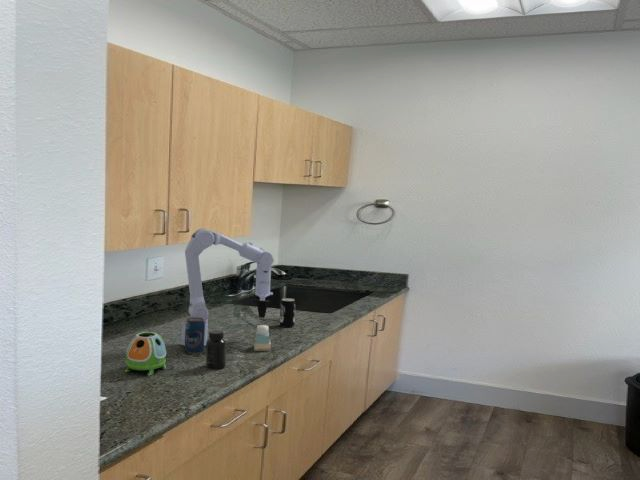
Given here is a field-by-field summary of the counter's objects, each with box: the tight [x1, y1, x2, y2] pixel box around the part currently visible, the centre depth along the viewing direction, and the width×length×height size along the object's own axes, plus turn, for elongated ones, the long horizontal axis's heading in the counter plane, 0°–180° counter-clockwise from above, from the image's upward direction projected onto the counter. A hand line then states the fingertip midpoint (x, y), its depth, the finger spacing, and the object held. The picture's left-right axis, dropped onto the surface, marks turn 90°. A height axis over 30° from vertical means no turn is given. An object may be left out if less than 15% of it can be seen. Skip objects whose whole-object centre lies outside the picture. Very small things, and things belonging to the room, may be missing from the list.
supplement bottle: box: [205, 329, 227, 370], centre depth 200 cm, size 7×7×12 cm
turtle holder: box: [125, 331, 167, 377], centre depth 195 cm, size 12×18×12 cm
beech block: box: [253, 339, 272, 352], centre depth 226 cm, size 6×6×3 cm
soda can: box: [184, 317, 205, 355], centre depth 217 cm, size 7×7×12 cm
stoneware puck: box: [256, 324, 270, 336], centre depth 225 cm, size 4×4×3 cm
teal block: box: [254, 331, 270, 344], centre depth 225 cm, size 5×5×3 cm
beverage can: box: [279, 297, 296, 328], centre depth 264 cm, size 7×7×12 cm
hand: (261, 315), depth 235 cm, fingers open, 7 cm apart
